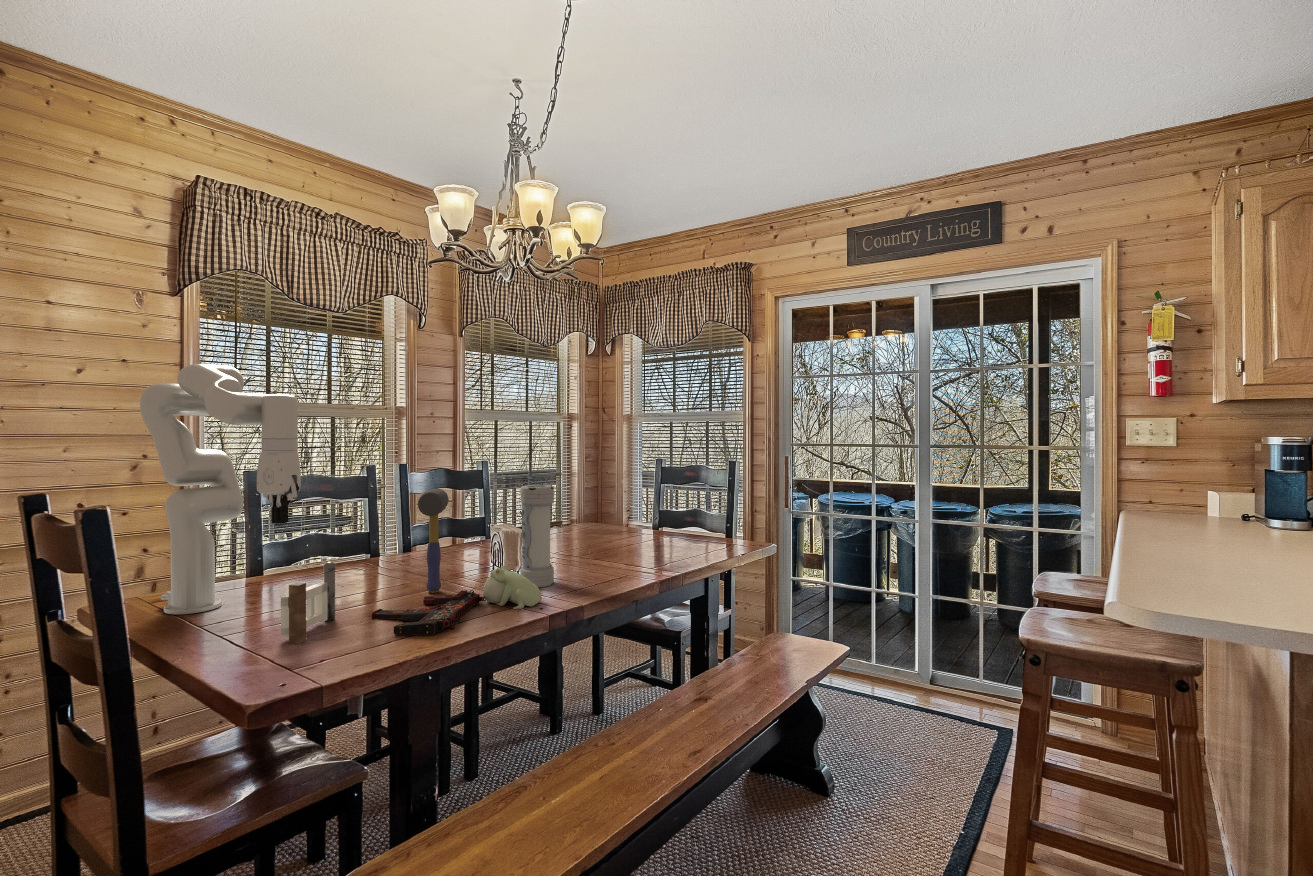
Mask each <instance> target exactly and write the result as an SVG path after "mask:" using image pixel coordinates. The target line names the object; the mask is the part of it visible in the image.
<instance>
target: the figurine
mask: <svg viewBox="0 0 1313 876" xmlns="http://www.w3.org/2000/svg"><path fill="white" fill-rule="evenodd" d="M482 591H483V593H482V594H483V597H486V598H484V600H486V602H488V603H491V604H496V605H499V607H503V606H505V605H506V604H507V602H511V603H513V604H515V605H516V606H514V607H513V610H520V609H521V610H522V609H524V608H525V607H526V606H527V607H534V606H535V605H537V604H539V602H542V594H541V593H542V592H541V589H540V588H538V587H537V586H536V585H535V584H534V583H532V582H531V581H530V580H529V579H527V578H526V577H524V576H522V575H521V573H518V572H515V571H510V570H509V567H508V566H507V565H501V567H497V568H496V569H493V570H491V572H490V576H489V577H488V578H487V579H486V581H485V582H484V586H483V589H482Z"/></svg>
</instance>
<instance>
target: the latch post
mask: <svg viewBox="0 0 1313 876" xmlns="http://www.w3.org/2000/svg"><path fill="white" fill-rule="evenodd" d="M306 588H307V583H306V582H294V583H290V584H289V585H288V594H289V597H288V608H289V638H288V643H289V645H290V644H293V645H300V644H302V643H305V642H307V627H306V617H307V599H306Z"/></svg>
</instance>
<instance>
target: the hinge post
mask: <svg viewBox="0 0 1313 876" xmlns="http://www.w3.org/2000/svg"><path fill="white" fill-rule="evenodd" d="M322 568H323V569H322V570H323V579H324V580H323V581H324V582H323V583H327V585H328V591H327V608H328V614H327V620H326V621H324V622H325V623H331V622H335V621H336V569H337V566H336V563H335V562H333V561H326V563H324V564H323V567H322Z"/></svg>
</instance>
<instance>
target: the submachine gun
mask: <svg viewBox="0 0 1313 876" xmlns="http://www.w3.org/2000/svg"><path fill="white" fill-rule="evenodd" d="M485 598H486V597H484V596H481V594H480V593H476V592H475V590H473V589H470V590H469V591H468V590H466V589H464V590H460V591H459V592H458V593H456V594H455V595H453V594H452V595H448V594H447V595H425V596H424V597H423V600H422V601H423V605H432V604H433V605H434V606H431V607H429V608H423V609H422V608H421V609H420V608H419V609H417V608H415V609H413V608H412V609H411V608H409V609H404V610H401V609H400V610H396V609H395V610H392V609H390V610H389V609H388V610H387V609H382V608H378V609H376V610H374V611H372V613H371V619H372V620H374V619H375V620H377V619H378V620H401V622H405V623H399V624H396V625H395V626H393V635H401V636H402V635H405V636H407V635H408V636H433V635H435V634H436V633H437V632H438V633H442V632H444V631H445V630H446V628H449V629H455V623H461V622H462V619H461V617H462V616H463V615H464V614H465V613H467V612H468V611H469V610H470V609H471V608H472V607H473V606H475V605H478V604H479V603H480V602H487V600H486V599H485Z"/></svg>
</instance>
